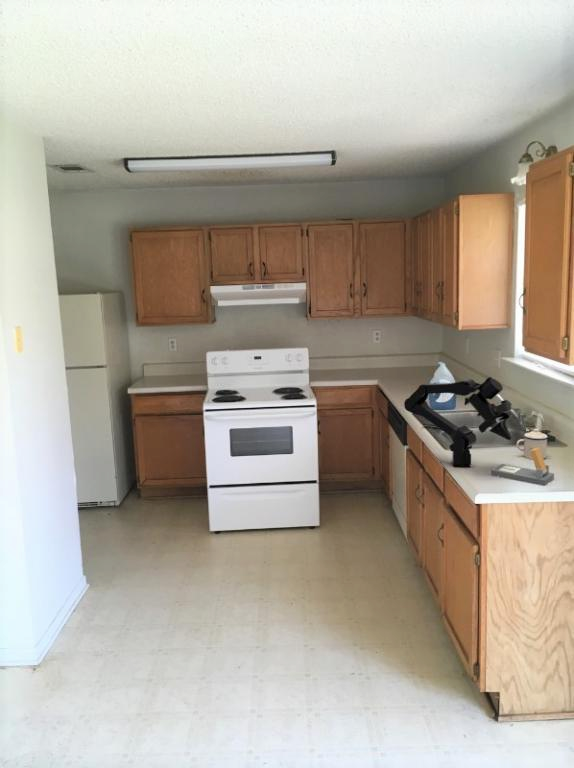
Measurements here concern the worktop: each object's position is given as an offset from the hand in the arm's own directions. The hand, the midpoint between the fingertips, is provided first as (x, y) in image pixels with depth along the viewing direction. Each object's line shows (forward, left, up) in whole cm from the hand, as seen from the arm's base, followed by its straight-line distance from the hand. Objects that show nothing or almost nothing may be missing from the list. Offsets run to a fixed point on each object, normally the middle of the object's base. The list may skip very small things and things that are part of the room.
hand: (510, 439), depth 234 cm
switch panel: (+4, -3, -14) cm, 14 cm away
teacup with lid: (+14, +25, -14) cm, 32 cm away
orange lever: (+11, -7, -11) cm, 17 cm away
